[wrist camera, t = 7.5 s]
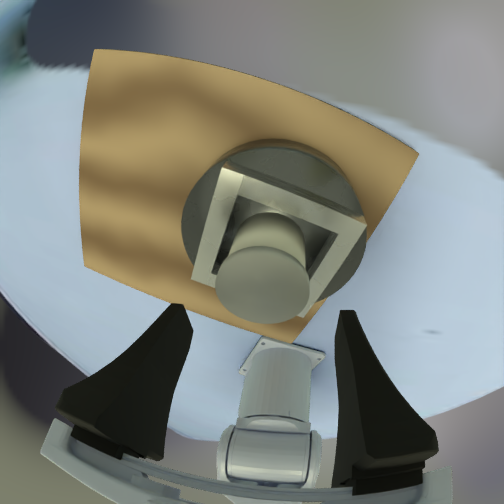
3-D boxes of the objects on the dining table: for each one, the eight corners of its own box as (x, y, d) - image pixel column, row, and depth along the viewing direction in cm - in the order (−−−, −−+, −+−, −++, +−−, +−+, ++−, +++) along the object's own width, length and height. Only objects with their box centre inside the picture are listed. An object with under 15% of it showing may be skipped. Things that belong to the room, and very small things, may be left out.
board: (291, 336, 29) (291, 343, 28) (89, 260, 27) (84, 266, 26) (414, 149, 16) (419, 153, 15) (102, 49, 14) (94, 49, 13)
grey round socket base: (313, 299, 24) (313, 337, 21) (182, 253, 23) (164, 286, 20) (388, 183, 17) (408, 212, 13) (219, 113, 16) (198, 124, 13)
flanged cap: (289, 281, 19) (286, 333, 16) (224, 257, 19) (206, 306, 15) (321, 227, 16) (326, 276, 13) (246, 197, 16) (229, 240, 12)
